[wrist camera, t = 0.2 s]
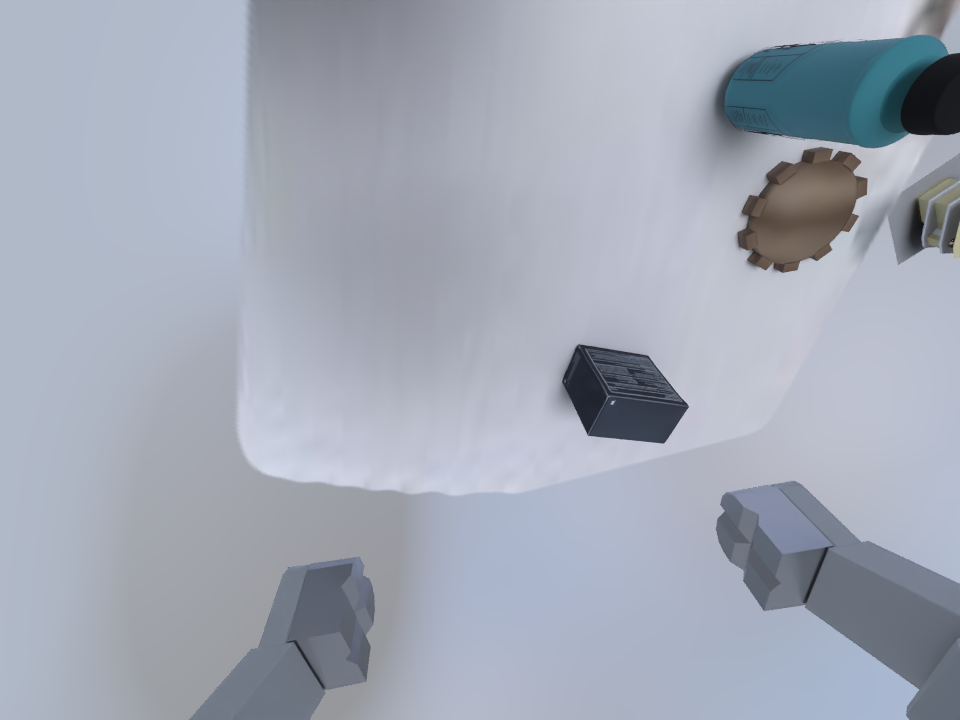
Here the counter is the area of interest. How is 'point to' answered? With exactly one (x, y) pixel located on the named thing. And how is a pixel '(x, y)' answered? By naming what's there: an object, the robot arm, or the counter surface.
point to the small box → (622, 395)
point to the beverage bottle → (849, 91)
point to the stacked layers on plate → (928, 213)
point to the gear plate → (802, 209)
